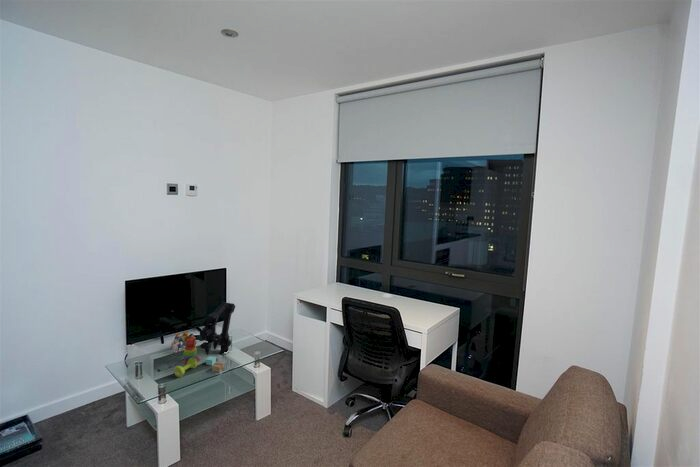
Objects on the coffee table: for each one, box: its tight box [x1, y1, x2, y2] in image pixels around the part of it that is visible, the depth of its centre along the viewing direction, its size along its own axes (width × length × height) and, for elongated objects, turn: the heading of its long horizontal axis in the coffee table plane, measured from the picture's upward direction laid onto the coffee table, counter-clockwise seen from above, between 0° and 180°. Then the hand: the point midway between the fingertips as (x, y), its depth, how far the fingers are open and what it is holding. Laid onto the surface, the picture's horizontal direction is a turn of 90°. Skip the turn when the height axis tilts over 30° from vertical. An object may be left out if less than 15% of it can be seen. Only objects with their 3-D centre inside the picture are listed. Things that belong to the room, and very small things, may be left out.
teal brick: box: [205, 355, 217, 366], centre depth 262 cm, size 5×5×4 cm
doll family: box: [170, 331, 196, 355], centre depth 281 cm, size 21×10×13 cm, turn 150°
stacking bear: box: [183, 337, 201, 365], centre depth 263 cm, size 11×10×18 cm
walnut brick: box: [211, 361, 225, 373], centre depth 253 cm, size 6×6×4 cm
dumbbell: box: [173, 358, 199, 378], centre depth 249 cm, size 16×8×7 cm, turn 161°
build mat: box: [207, 368, 223, 375], centre depth 254 cm, size 10×10×1 cm
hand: (211, 352), depth 261 cm, fingers open, 9 cm apart
